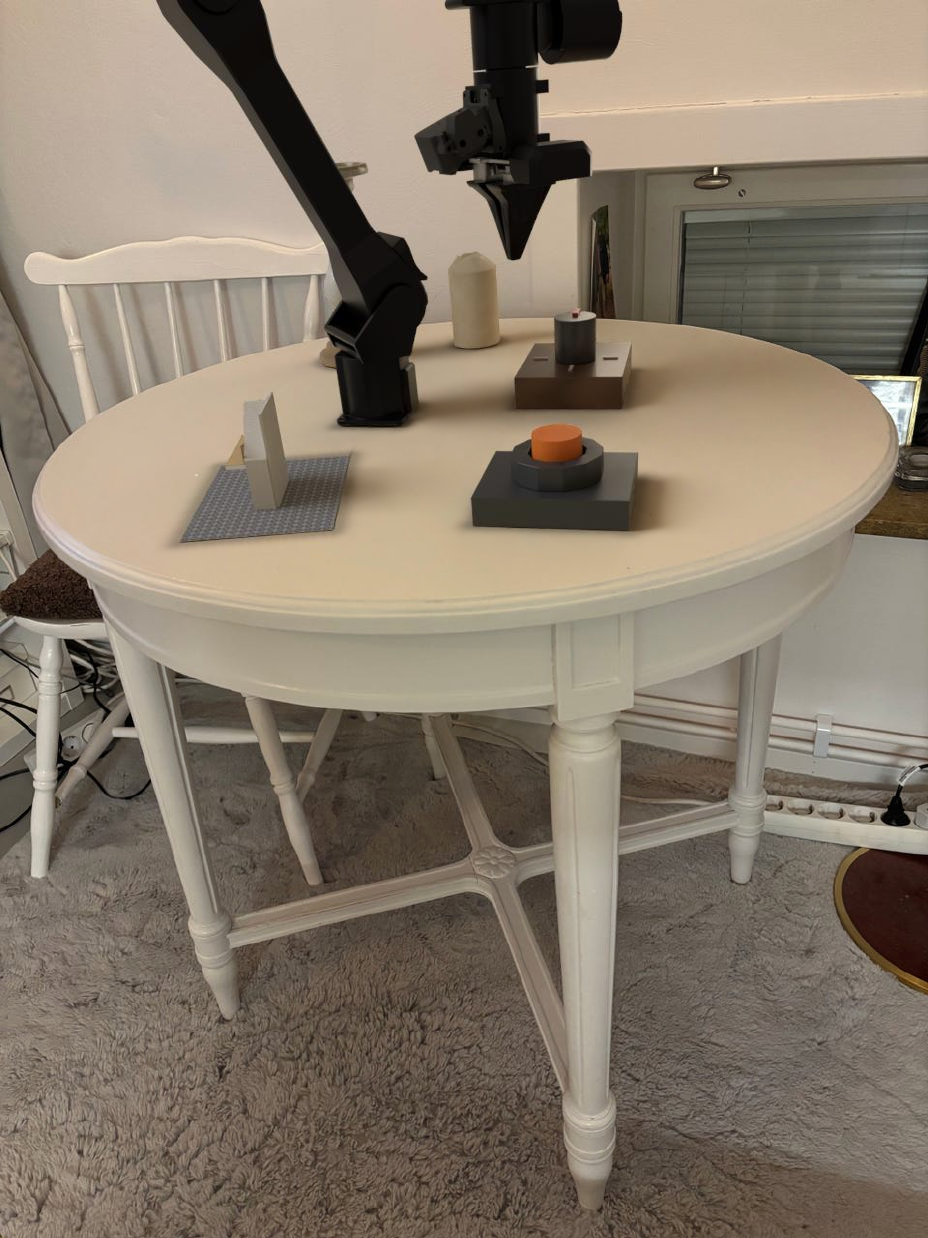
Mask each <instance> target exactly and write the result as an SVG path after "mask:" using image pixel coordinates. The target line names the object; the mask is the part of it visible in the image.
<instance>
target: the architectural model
mask: <svg viewBox="0 0 928 1238" xmlns="http://www.w3.org/2000/svg"><path fill="white" fill-rule="evenodd" d="M277 413H278V412H277V407H276V403H275V397H274V392H273V391H269V392H268V395H267V396H266V398H265V399H259V400H248V401H247V400H246V401H243V434H241V436H240V438H239V439H238V441H237V443H236V445H235V447H234V448H233V451H232V452H231V454H230V456H229V457H228V459H227V462H226V463H225V465H220V467H219V469H218V470H217V472H216V474H215V476H214V478H213V480H212V481H211V483H210V485H209V487H208V488H207V490H206V492H205V494H204V496H203V498H202V499H201V501H200V503H199V505H198V506H197V508H196V510H195V512H194V514H193V515H192V517H191V519H190V520H189V523H188V525H187V527H186V529H185V530H184V532H183V534H182V535H181V538H179V541H178V542H179V543H182V542H183V543H184V542H196V541H197V542H198V541H207V540H208V541H209V540H220V539H221V540H222V539H233V538H235V539H236V538H246V537H259V536H269V535H270V536H271V535H283V534H297V533H308V532H309V533H311V532H323V531H333V530H334V526H335V521H336V517H337V513H338V509H339V505H340V500H341V496H342V491H343V487H344V482H345V478H346V474H347V469H348V465H349V461H350V457H351V456H350V454H349V455H336V456H324V457H311V458H298V459H288V460H287V459H286V455H285V450H284V445H283V439H282V434H281V429H280V424H279V417H278V414H277Z"/></svg>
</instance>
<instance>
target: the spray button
mask: <svg viewBox="0 0 928 1238" xmlns="http://www.w3.org/2000/svg"><path fill="white" fill-rule="evenodd" d="M530 434H531V435H530V436H531V437H530V439H531V442H532V458H533V459H537V460H541V461H544V462H562V461H568V460H573V459H577V458H579V457H581V456H582V437H583V431H582V429H581V428H580V427H578V426H577V425H573V424H568V423H552V424H546V425H542V426H539V427H537V428H534V429H533V430H532V431H531V433H530Z"/></svg>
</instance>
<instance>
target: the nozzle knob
mask: <svg viewBox="0 0 928 1238" xmlns="http://www.w3.org/2000/svg"><path fill="white" fill-rule="evenodd" d="M553 336H554V337H553V338H554V342H553V343H555V360H556V361H557V362H559V363H564V364H581V363H587V362H590V361H593V360H595V359H596V342H597V314H596V313H594V312H591V311H585V310H583V311H582V309H581V307H576V308H574V309H573V311H567V312H561V313H558V314H556V315H554V316H553Z"/></svg>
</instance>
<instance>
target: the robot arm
mask: <svg viewBox="0 0 928 1238" xmlns="http://www.w3.org/2000/svg"><path fill="white" fill-rule="evenodd" d="M155 1H156V4H157V6H158V8H159V10H160V13H161V14H162V16H163V18H164V19H165V20H166V21H167V23H168V24H169V26H171V28H172V29H173V30H174V31H175V33H176V34H177V35H178V36H179V37H180V38H181V40H182V41H183V42H184V44H186V45H187V47H188V48H189V49H190V50H191V51H192V53H193V54H194V55H195V56H196V57H197V58H198V59H199V60H200V61H201V62H202V63H203V64H204V65H205V66H206V67H207V68H208V69H209V70H210V71H211V72H212V73H213V74H214V75H215V76H216V77H217V78H218V79H219V80H220V81H221V82H222V83H223V84H224V85H225V87H227V88H228V89H229V92H231V93H232V95H233V97H234V98H235V100H236V102H237V103H238V105H239V106H240V108H241V110H242V111H243V113H244V115H245V116H246V118H247V119H248V121H249V123H250V125H251V126H252V128H253V130H254V131H255V133H256V134H257V136H258V138H259V139H260V141H261V143H262V144H263V146H264V147H265V149H266V151H267V152H268V154H269V156H270V158H271V159H272V160H273V162H274V164H275V165H276V167H277V169H278V171H279V172H280V174H281V175H282V177H283V179H284V180H285V182H286V183H287V186H288V187H289V188H290V190H291V192H292V194H293V195H294V196H295V198H296V200H297V201H298V203H299V205H300V206H301V208H302V210H303V212H304V213H305V215H306V216H307V218H308V219H309V221H310V223H311V224H312V225H313V228H314V229H315V231H316V232H317V234H318V236H319V238H320V239H321V241H322V242H323V244H324V246H325V248H326V251H327V254H328V260H329V259H330V263H331V268H332V272H333V276H334V279H335V282H336V284H337V287H338V289H339V291H340V294H341V296H342V300H341V302H340V303H339V305H338V306H337V308H336V307H335V308H336V309H335V308H334V309H335V311H334V310H333V311H334V312H333V311H332V312H333V314H332V315H331V314H330V317H329V318H328V320H327V321H326V322H325V324H324V325H323V330H324V332H325V334H326V336H327V337H328V339H329V340H330V341H331V343H332V345H333V346H334V347H338V348H340V349H341V350H340V351H339V352H338V353H337V354H336V355H334V358H335V365H336V368H335V370H336V377H337V384H338V385H337V386H338V392H339V397H340V405H341V411H342V413H341V415H339V416H338V417H337V419H336V424H337V425H338V426H401V425H404V423H406V421H407V420H408V419H409V417H410V416H411V415H412V414H413V413H414V411H415V410H417V408H418V406H419V405H420V399H419V393H418V392H419V391H418V383H417V372H416V365H415V363H414V362H413V361H410V358H409V357H410V356H411V355H412V353H413V349H414V344H415V338H416V334H417V330H418V327H419V326H420V325H421V324H422V321H423V319H424V317H425V315H426V312H427V306H428V305H429V296H428V293H427V290H426V287H425V285H424V283H423V282H422V281H427V280H428V277H429V276H428V275H426V273H424V272H423V271H422V270H421V269H420V268H419V267H418V265H417V263H416V262H415V259H414V256H413V253H412V251H411V248H410V246H409V244H408V242H407V240H406V238H405V237H402V236H398V235H394V234H390V233H388V232H383V231H376V230H375V229H374V227H373V226H372V225H371V223H370V221H369V220H368V218H367V216H366V215H365V212H364V211H363V209H362V208H361V206H360V204H359V202H358V200H357V198H356V197H355V196H354V194H353V191H352V192H351V190H350V188H349V186H348V185H347V183H346V181H345V179H344V178H343V176H342V174H341V172H340V171H339V169H338V167H337V165H336V164H335V163H336V162H335V160H334V158H333V156H332V155H331V153H330V151H329V150H328V147H327V146H326V144H325V143H324V141H323V139H322V137H321V135H320V133H319V132H318V130H317V128H316V127H315V125H314V123H313V122H312V120H311V118H310V116H309V114H308V113H307V111H306V109H305V107H304V105H303V104H302V102H301V100H300V98H299V96H298V95H297V94H296V91H295V89H294V88H293V86H292V84H291V83H290V81H289V79H288V77H287V75H286V73H285V72H284V70H283V69H282V67H281V65H280V63H279V60H278V58H277V55H276V51H275V47H274V43H273V38H272V34H271V31H270V26H269V22H268V18H267V14H266V12H265V9H264V6H263V4H262V1H261V0H155ZM444 7H445V9H446V10H448V11H457V10H458V11H459V10H469V11H468V12H469V26H470V41H471V60H472V61H471V62H472V71H473V72H472V78H473V85H465V86H464V90H463V91H462V107H460V108H458V109H457V110H455V111H453V112H450V113H449V114H447V115H445V116H443V117H441V118H439V119H438V120H436V121H435V122H433V123H431V124H430V125H428V126H426V127H424V128H422V129H421V130H419V131H417V132H416V133H415V134H414V135H413V138H414V141H415V142H416V145H417V148H418V150H419V152H420V155H421V158H422V160H423V163H424V165H425V168H426V170H427V172H428V173H432V172H434V171H435V172H438V174H439V175H444V176H456V175H457V173H459V172H460V173H461V172H468V171H472V175H473V179H471V180H467V181H466V182H465V183H466V184H467V186H468V187H469V188H472V189H473V190H475V192H477V193H478V194H479V195H481V196H482V197H483V198H484V199H485V201H486V202H487V205H488V207H489V210H490V212H491V215H492V217H493V221H494V224H495V227H496V230H497V232H498V236H499V239H500V242H501V245H502V248H503V250H504V253H505V256H506V259H507V260H509V261H512V262H515V261H519V260H521V259H522V256H523V255H524V253H525V249H526V247H527V244H528V241H529V239H530V236H531V233H532V231H533V229H534V226H535V223H536V221H537V219H538V216H539V214H540V211H541V210H542V207H543V205H544V203H545V200H546V198H547V196H548V194H549V192H550V191H551V188H552V186H553V185H557V182H562V181H569V180H575V179H576V180H577V179H584V178H589V177H590V178H591V177H592V176H593V150H592V149H591V148H590V147H589V145H588V144H587V143H586V142H585V141H584V140H582V139H581V140H580V139H556V140H555V139H554V140H551V133H550V132H541V103H540V101H541V98H540V97H541V96H540V95H541V94H549V93H550V79H549V78H547V79H546V78H545V79H540V67H539V64H540V63H539V56H540V58H541V60H542V61H543V62H544V63H545V64H547V65H549V66H555V65H565V64H577V63H588V62H598V61H599V62H600V61H607V60H608V59H610V58H611V57H612V56H613V55H614V54H615V52H616V50H617V48H618V47H619V46H618V45H619V43H620V40H621V36H622V30H623V11H622V10H621V8H620V3H619V0H445V1H444ZM329 340H328V341H329Z"/></svg>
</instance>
